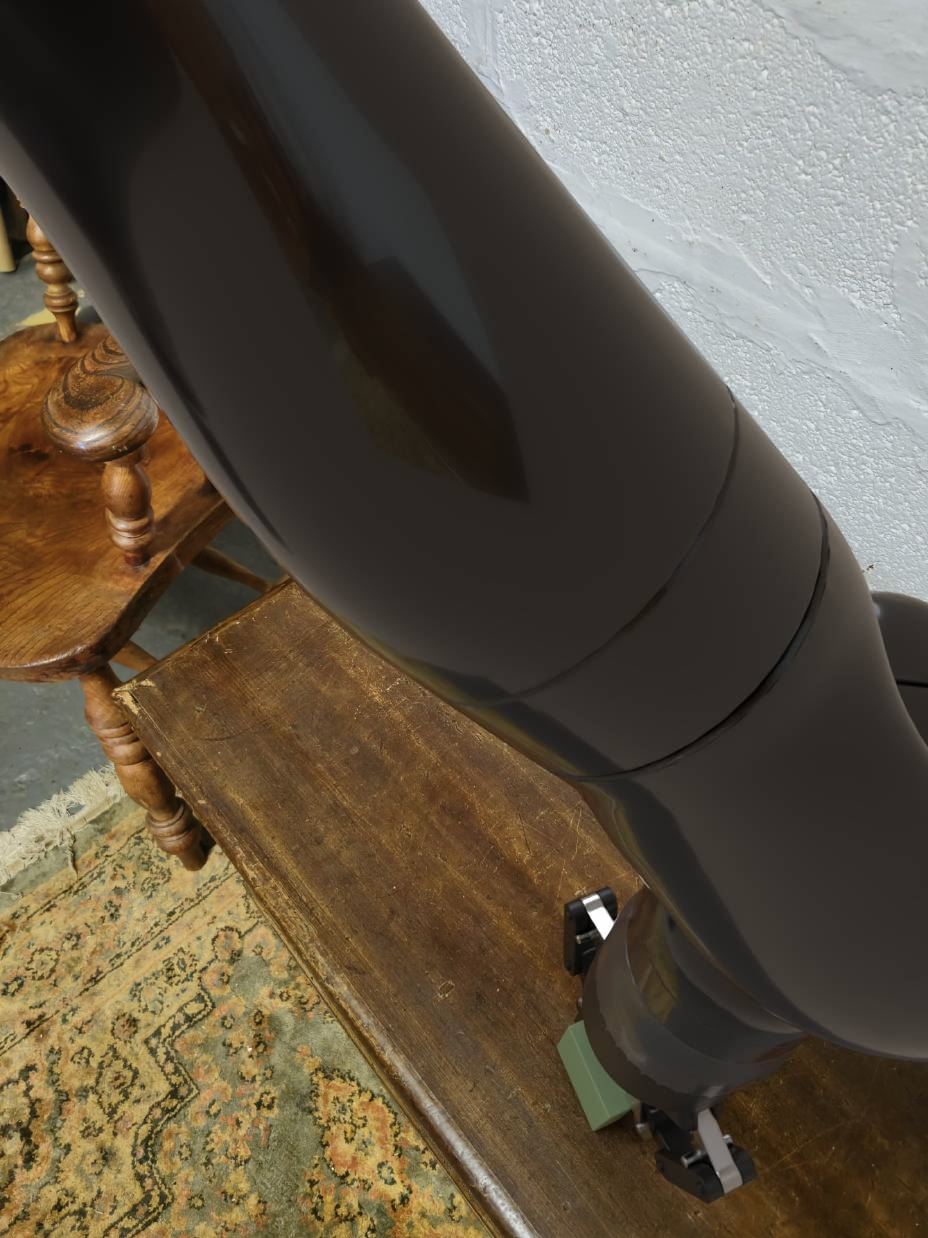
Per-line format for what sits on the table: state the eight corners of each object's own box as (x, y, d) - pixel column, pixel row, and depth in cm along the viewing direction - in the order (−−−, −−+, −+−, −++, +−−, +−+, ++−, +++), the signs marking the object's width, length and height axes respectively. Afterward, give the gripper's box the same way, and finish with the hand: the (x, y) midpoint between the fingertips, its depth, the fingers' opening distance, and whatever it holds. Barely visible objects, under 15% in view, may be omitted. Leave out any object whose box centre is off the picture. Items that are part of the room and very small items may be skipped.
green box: (592, 1132, 45) (609, 1119, 41) (555, 1046, 48) (567, 1026, 44) (673, 1092, 46) (696, 1076, 43) (633, 1010, 49) (651, 988, 45)
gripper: (529, 858, 36) (500, 969, 50) (709, 1240, 28) (617, 1249, 42) (679, 799, 38) (612, 921, 52) (886, 1141, 30) (744, 1180, 44)
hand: (615, 1068), depth 47 cm, fingers open, 4 cm apart
